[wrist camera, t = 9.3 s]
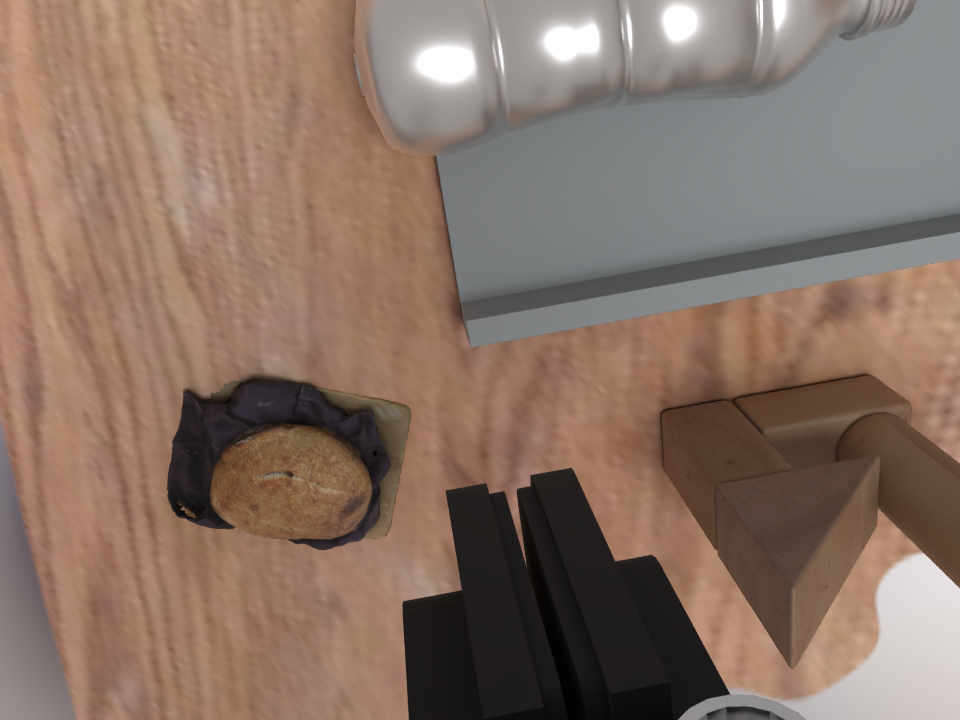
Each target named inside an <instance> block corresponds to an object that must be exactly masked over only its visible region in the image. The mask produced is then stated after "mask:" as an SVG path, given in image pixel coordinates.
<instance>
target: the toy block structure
mask: <svg viewBox="0 0 960 720" xmlns="http://www.w3.org/2000/svg"><path fill="white" fill-rule="evenodd" d="M911 413H912V407H911V404H910V402H909V401H907V400H906V399H905V398H903V397H902V396H901V395H899V394H898V393H896V392H895V391H894V390H892V389H891V388H890V387H888V386H887V385H885V384H884V383H883V382H881V381H880V380H879V379H877V378H876V377H874V376H870V375H867V376H862V377H856V378H850V379H844V380H839V381H833V382H827V383H822V384H816V385H810V386H805V387H799V388H793V389H788V390H782V391H776V392H770V393H765V394H759V395H753V396H748V397H742V398H737V399H736V400H735V401H734V404H733V403H732V402H731V401H726V400H723V401H717V402H712V403H706V404H700V405H695V406H689V407H683V408H677V409H672V410H667V411H665V412H663V414H662V418H661V419H662V436H663V454H664V470H665V472H666V474H667V475H668V477H669V478H670V480H671V482H672V483H673V485H674V486H675V488H676V489H677V491H678V492H679V494H680V496H681V497H682V499H683V500H684V502H685V503H686V505H687V507H688V508H689V510H690V511H691V513H692V514H693V516H694V517H695V519H696V521H697V522H698V524H699V525H700V527H701V528H702V530H703V531H704V533H705V535H706V536H707V538H708V539H709V541H710V542H711V544H712V546H713V547H714V549H716V550H717V551H718V556H719V557H720V559H721V561H722V562H723V564H724V565H725V567H726V568H727V570H728V571H729V573H730V575H731V576H732V578H733V579H734V581H735V582H736V584H737V585H738V587H739V589H740V590H741V592H742V593H743V595H744V596H745V598H746V600H747V601H748V603H749V604H750V606H751V607H752V609H753V610H754V612H755V614H756V615H757V617H758V618H759V620H760V621H761V623H762V625H763V626H764V628H765V629H766V631H767V632H768V634H769V636H770V637H771V639H772V640H773V642H774V643H775V645H776V647H777V648H778V650H779V651H780V653H781V654H782V656H783V658H784V659H785V661H786V662H787V664H788V665H789V667H790V668H792V669H793V668H794V667H796V665H797V664H798V662H799V660H800V658H801V657H802V655H803V653H804V651H805V650H806V648H807V646H808V644H809V643H810V641H811V639H812V638H813V636H814V634H815V632H816V631H817V629H818V627H819V625H820V624H821V622H822V620H823V618H824V617H825V615H826V613H827V611H828V610H829V608H830V606H831V604H832V603H833V601H834V599H835V598H836V596H837V594H838V592H839V591H840V589H841V587H842V585H843V584H844V582H845V580H846V578H847V577H848V575H849V573H850V571H851V570H852V568H853V566H854V564H855V563H856V561H857V559H858V558H859V556H860V554H861V552H862V551H863V549H864V547H865V545H866V544H867V542H868V540H869V538H870V537H871V535H872V533H873V531H874V530H875V528H876V526H877V511H878V509H879V510H881V511H882V512H883V513H884V514H885V515H886V516H887V517H888V518H889V519H890V520H891V521H892V522H893V523H894V524H895V525H896V526H897V527H898V528H899V529H900V530H901V531H902V532H903V533H904V534H905V535H906V536H907V537H908V538H909V539H910V540H911V541H912V542H913V543H914V544H915V545H916V546H917V547H918V548H919V549H920V550H921V551H922V552H923V553H924V554H925V555H926V556H927V557H928V558H930V559H931V560H932V561H933V562H934V563H935V564H936V565H937V566H938V567H939V568H940V569H941V570H942V571H943V572H944V573H945V574H946V575H947V576H948V577H949V578H950V579H951V580H952V581H953V582H954V583H955V584H956V585H957V586H958V587H959V588H960V463H958V462H957V461H956V460H954V459H953V458H952V457H950V456H949V455H948V454H947V453H945V452H944V451H943V450H941V449H940V448H939V447H937V446H936V445H935V444H934V443H932V442H931V441H930V440H928V439H927V438H926V437H924V436H923V435H922V434H921V433H919V432H918V431H917V430H915V429H914V428H913V427H911Z"/></svg>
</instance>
